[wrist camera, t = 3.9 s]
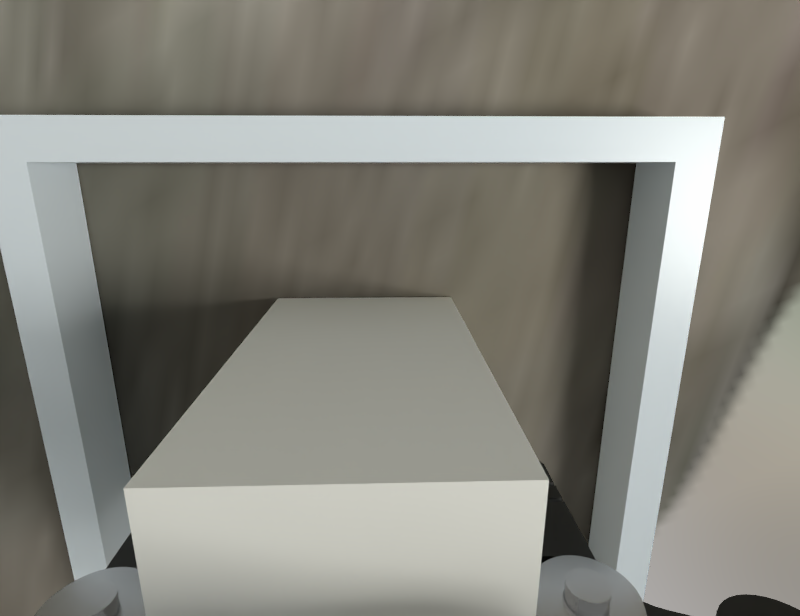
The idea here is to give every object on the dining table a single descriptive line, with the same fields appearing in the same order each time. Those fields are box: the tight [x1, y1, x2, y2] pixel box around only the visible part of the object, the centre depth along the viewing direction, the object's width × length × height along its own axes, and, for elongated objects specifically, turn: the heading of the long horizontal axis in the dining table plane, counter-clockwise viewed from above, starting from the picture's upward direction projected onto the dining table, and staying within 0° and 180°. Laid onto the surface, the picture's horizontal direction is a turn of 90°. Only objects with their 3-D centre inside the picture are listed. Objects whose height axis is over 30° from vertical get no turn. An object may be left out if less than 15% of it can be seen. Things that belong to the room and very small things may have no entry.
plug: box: [123, 297, 549, 616], centre depth 9 cm, size 4×6×7 cm, turn 0°
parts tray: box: [0, 115, 725, 601], centre depth 11 cm, size 14×14×2 cm
